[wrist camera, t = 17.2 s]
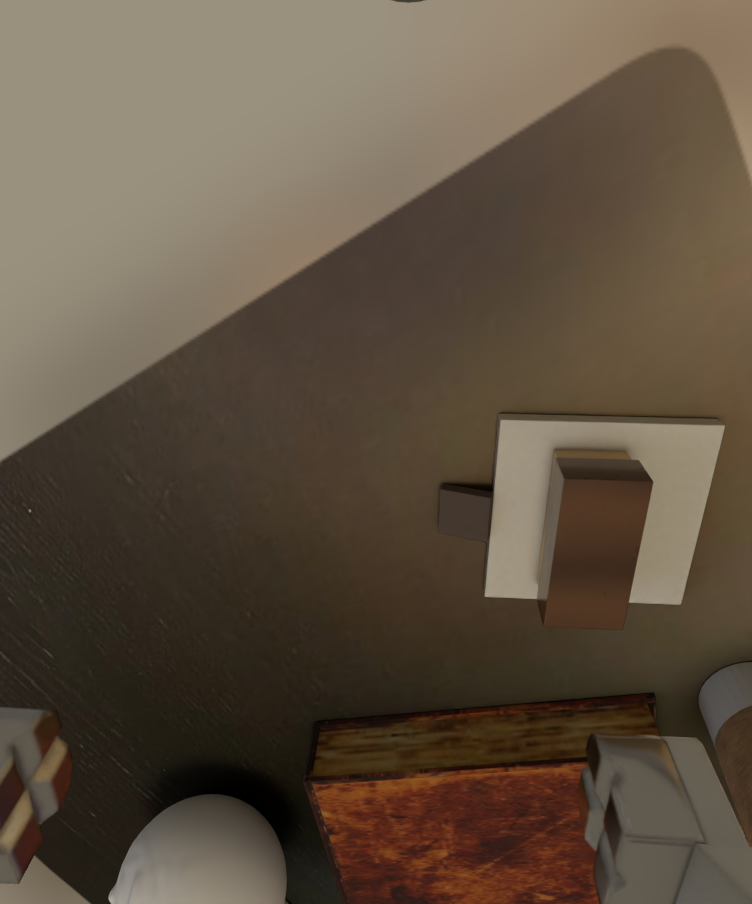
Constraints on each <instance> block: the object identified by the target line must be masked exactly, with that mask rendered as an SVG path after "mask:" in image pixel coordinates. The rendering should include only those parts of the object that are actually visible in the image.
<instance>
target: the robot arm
mask: <svg viewBox="0 0 752 904" xmlns="http://www.w3.org/2000/svg"><path fill="white" fill-rule="evenodd" d="M62 726H63V725H62V722H61V720H60V717H59V715H58V712H57V710H51V709H40V708H27V707H13V706H0V883H6V884H19V883H20V881H21V879H22V877H23V875H24V873H25V871H26V870H27V868H28V866H29V864H30V862H31V860H32V858H33V856H34V855H35V853H36V851H37V849H38V847H39V845H40V843H41V841H42V840H43V836H42V830H41V823H42V822H43V821H45V820H46V819H47V818H49V817H50V816H51V815H52V814H54V813H55V812H56V811H58V809H59V807H60V805H61V803H62V801H63V799H64V797H65V795H66V793H67V791H68V787H69V783H70V779H71V775H72V754H71V751H70V747H69V745H68V744H67V743H65V742H64V741H63V740H62V739H61V738H59V737H58V736H57V734H58V732H59V731H60V729H61V727H62ZM585 751H586V755H587V759H588V763H589V765H588V766H587V767H586V768H584V769H583V770H582V771H581V775H580V782H579V811H580V818H581V824H582V829H583V834H584V838H585V840H586V842H587V843H588V844H589V845H590V846H591V847H592V848H593V849H594V850H595V851H596V854H595V859H594V863H593V868H592V874H593V878H594V882H595V887H596V891H597V895H598V900H599V904H752V847H750V846H749V844H748V842H747V840H746V838H745V836H744V834H743V831H742V829H741V827H740V825H739V823H738V820H737V818H736V816H735V814H734V812H733V809H732V807H731V805H730V803H729V801H728V798H727V796H726V794H725V792H724V790H723V788H722V785H721V783H720V781H719V779H718V777H717V774H716V772H715V770H714V768H713V766H712V763H711V761H710V759H709V757H708V755H707V753H706V750H705V748H704V746H703V744H702V743H701V742H700V741H699V740H698V739H697V738H690V737H668V736H660V737H659V736H657V735H630V734H600V733H591V735H590V736H589V738H588V740H587V745H586V749H585Z"/></svg>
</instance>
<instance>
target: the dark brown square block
mask: <svg viewBox="0 0 752 904" xmlns="http://www.w3.org/2000/svg"><path fill="white" fill-rule="evenodd" d="M493 494H494V493H493V492H489V491H483V490H478V489H472V488H466V487H461V486H455V485H449V484H443V486H442V487H441V489H440V503H439V523H438V533H442V534H447V535H452V536H457V537H462V538H467V539H472V540H477V541H482V542H487V541H488V539H489V536H490V528H491V516H492V505H493Z"/></svg>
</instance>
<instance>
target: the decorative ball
mask: <svg viewBox="0 0 752 904" xmlns="http://www.w3.org/2000/svg"><path fill="white" fill-rule="evenodd" d="M286 884H287V876H286V865H285V859H284V854H283V851H282V847H281V845H280V842H279V840H278V837H277V835H276V833H275V831H274V830H273V828H272V827H271V825H270V824H269V822H268V821H267V820H266V819H265V817H264V816H263V815H262V814H261V813H260V812H258V811H257V810H256V809H255V808H254V807H252V806H251V805H249V804H247V803H246V802H244V801H242V800H239V799H237V798H234V797H231V796H226V795H220V794H205V795H198V796H194V797H190V798H187V799H184V800H182V801H180V802H177V803H175V804H173V805H172V806H170V807H168V808H167V809H165V810H164V811H162V812H161V813H160V814H158V815H157V816H156V817H155V818H154V819H153V820H152V821H151V822H150V823H149V824H148V825H147V826H146V827H145V828H144V829H143V830H142V832H141V833H140V834H139V835H138V837H137V838H136V839H135V841H134V842H133V843H132V845H131V847H130V849H129V851H128V853H127V855H126V857H125V860H124V862H123V863H122V866H121V870H120V873H119V876H118V880H117V883H116V885H115V886H114V888H113V889H112V890H111V892H110V893H109V901H110V903H111V904H284V902H285V896H286Z"/></svg>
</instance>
